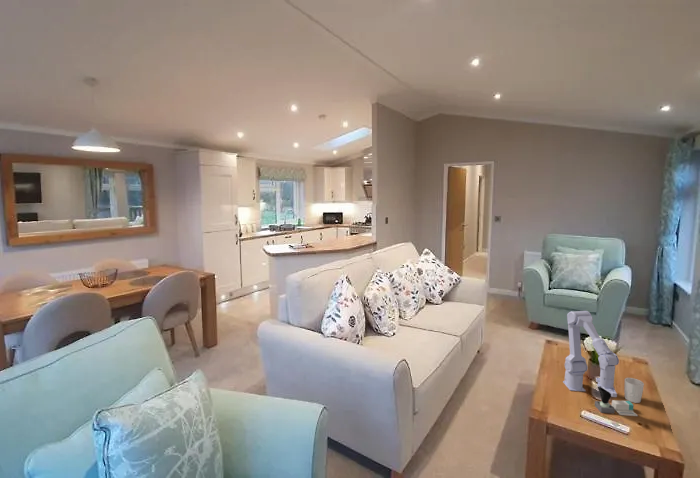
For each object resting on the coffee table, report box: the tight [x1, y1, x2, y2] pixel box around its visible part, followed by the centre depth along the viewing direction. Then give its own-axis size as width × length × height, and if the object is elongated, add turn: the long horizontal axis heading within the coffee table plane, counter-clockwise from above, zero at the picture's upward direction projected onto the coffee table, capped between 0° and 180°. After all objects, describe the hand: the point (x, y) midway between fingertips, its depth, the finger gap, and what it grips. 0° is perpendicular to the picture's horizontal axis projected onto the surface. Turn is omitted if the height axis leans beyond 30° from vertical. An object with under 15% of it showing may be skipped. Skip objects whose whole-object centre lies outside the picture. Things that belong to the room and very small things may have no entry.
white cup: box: [623, 377, 645, 404], centre depth 188 cm, size 8×8×10 cm
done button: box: [600, 400, 610, 408], centre depth 180 cm, size 4×4×3 cm
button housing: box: [594, 400, 616, 414], centre depth 180 cm, size 6×6×2 cm
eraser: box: [611, 399, 635, 412], centre depth 180 cm, size 8×3×3 cm, turn 84°
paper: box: [611, 404, 639, 417], centre depth 179 cm, size 8×8×1 cm
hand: (604, 402), depth 180 cm, fingers closed
